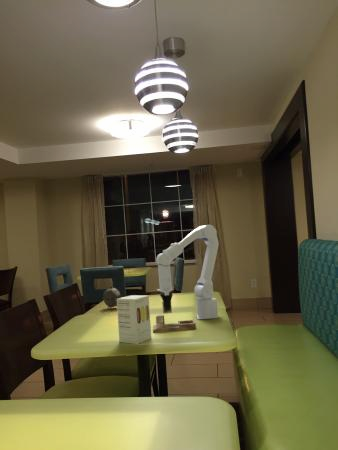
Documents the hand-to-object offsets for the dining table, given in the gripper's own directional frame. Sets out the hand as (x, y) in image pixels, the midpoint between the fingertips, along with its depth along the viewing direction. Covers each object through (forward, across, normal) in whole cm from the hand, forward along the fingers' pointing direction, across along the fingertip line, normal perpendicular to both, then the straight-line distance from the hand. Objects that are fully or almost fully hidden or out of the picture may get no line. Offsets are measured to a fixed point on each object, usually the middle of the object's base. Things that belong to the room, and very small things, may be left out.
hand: (167, 308), depth 166 cm
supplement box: (+7, +24, -14) cm, 29 cm away
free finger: (+2, 0, 0) cm, 2 cm away
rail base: (+6, +11, +2) cm, 13 cm away
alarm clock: (+7, -50, -31) cm, 59 cm away
